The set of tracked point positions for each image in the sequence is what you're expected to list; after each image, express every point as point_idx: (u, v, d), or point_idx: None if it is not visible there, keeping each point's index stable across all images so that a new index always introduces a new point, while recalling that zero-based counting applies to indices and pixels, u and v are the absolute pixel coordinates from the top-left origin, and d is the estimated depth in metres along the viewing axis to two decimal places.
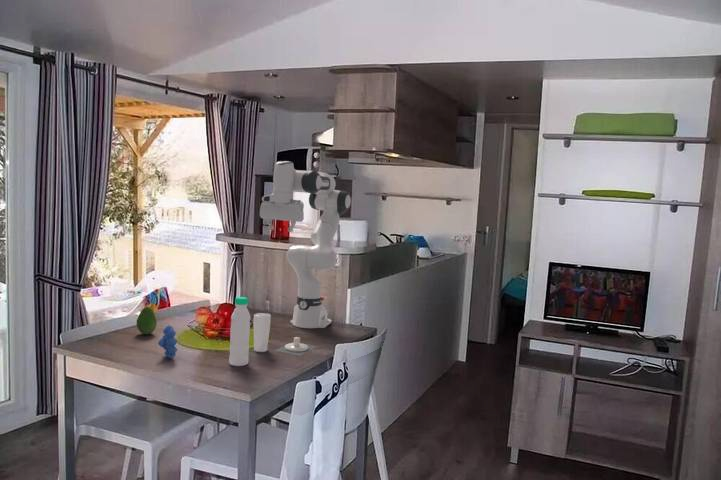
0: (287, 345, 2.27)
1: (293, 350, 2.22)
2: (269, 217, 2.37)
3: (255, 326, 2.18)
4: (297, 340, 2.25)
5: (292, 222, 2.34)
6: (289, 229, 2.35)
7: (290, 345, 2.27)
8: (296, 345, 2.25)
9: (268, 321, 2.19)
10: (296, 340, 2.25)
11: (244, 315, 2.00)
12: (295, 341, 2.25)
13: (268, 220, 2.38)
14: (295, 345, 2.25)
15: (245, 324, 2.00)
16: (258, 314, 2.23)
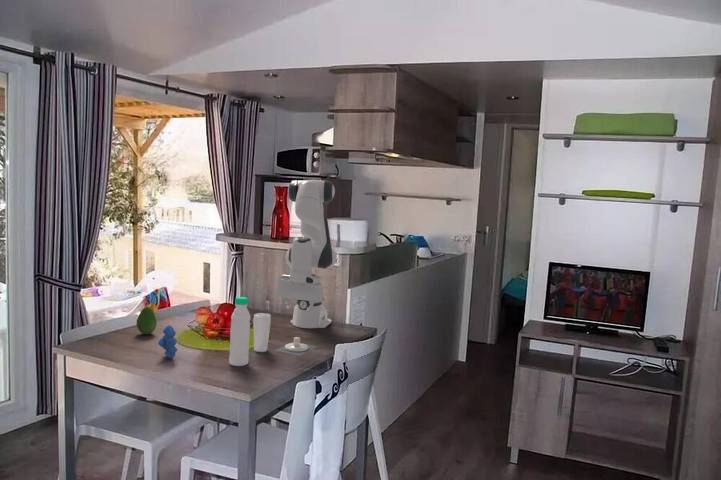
0: (287, 345, 2.27)
1: (293, 350, 2.22)
2: None
3: (255, 326, 2.18)
4: (297, 340, 2.25)
5: None
6: None
7: (290, 345, 2.27)
8: (296, 345, 2.25)
9: (268, 321, 2.19)
10: (296, 340, 2.25)
11: (244, 315, 2.00)
12: (295, 341, 2.25)
13: None
14: (295, 345, 2.25)
15: (245, 324, 2.00)
16: (258, 314, 2.23)
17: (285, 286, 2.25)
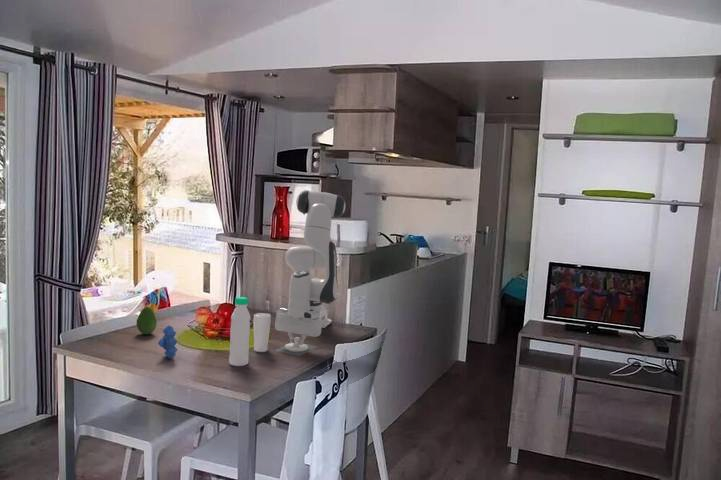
0: (287, 345, 2.27)
1: (293, 350, 2.22)
2: None
3: (255, 326, 2.18)
4: (297, 340, 2.25)
5: None
6: None
7: (290, 345, 2.27)
8: (296, 345, 2.25)
9: (268, 321, 2.19)
10: (296, 340, 2.25)
11: (244, 315, 2.00)
12: (295, 341, 2.25)
13: None
14: (295, 345, 2.25)
15: (245, 324, 2.00)
16: (258, 314, 2.23)
17: (284, 320, 2.27)
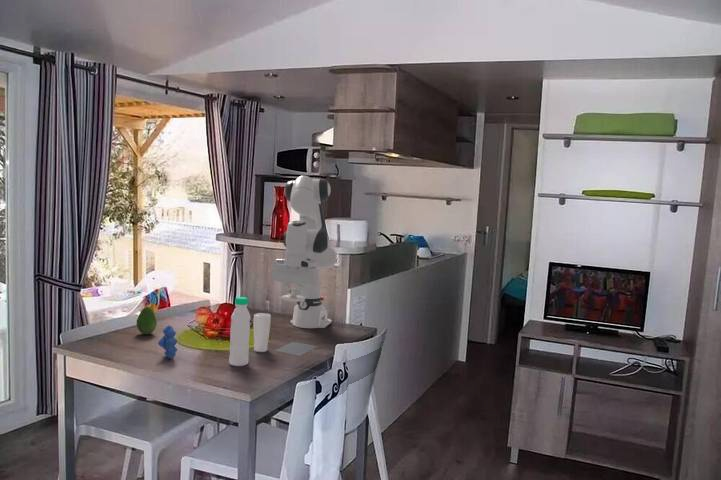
0: (283, 296, 2.24)
1: (290, 300, 2.19)
2: None
3: (255, 326, 2.18)
4: (294, 290, 2.22)
5: None
6: None
7: (286, 296, 2.24)
8: (293, 295, 2.22)
9: (268, 321, 2.19)
10: (293, 290, 2.22)
11: (244, 315, 2.00)
12: (292, 291, 2.22)
13: None
14: (292, 295, 2.22)
15: (245, 324, 2.00)
16: (258, 314, 2.23)
17: (280, 270, 2.24)
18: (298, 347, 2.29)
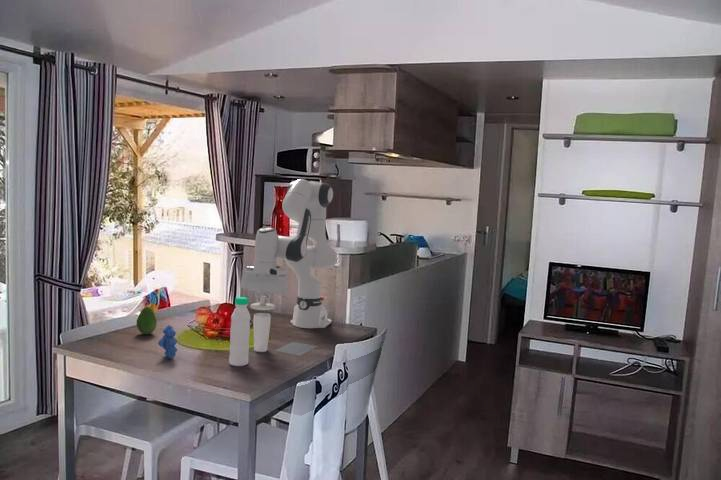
0: (253, 304, 2.20)
1: (259, 308, 2.15)
2: None
3: (255, 326, 2.18)
4: (263, 298, 2.18)
5: None
6: None
7: (256, 304, 2.20)
8: (262, 304, 2.19)
9: (268, 321, 2.19)
10: (262, 298, 2.18)
11: (244, 315, 2.00)
12: (261, 299, 2.19)
13: None
14: (261, 304, 2.19)
15: (245, 324, 2.00)
16: (258, 314, 2.23)
17: (249, 278, 2.20)
18: (298, 347, 2.29)
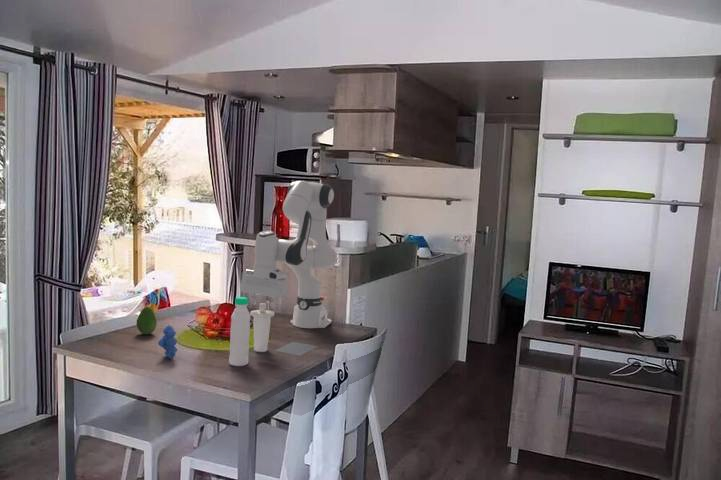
0: (252, 311, 2.21)
1: (258, 316, 2.16)
2: None
3: (255, 326, 2.18)
4: (263, 306, 2.19)
5: None
6: None
7: (255, 311, 2.20)
8: (262, 311, 2.19)
9: (268, 321, 2.19)
10: (262, 306, 2.19)
11: (244, 315, 2.00)
12: (261, 307, 2.19)
13: None
14: (261, 311, 2.19)
15: (245, 324, 2.00)
16: None
17: (249, 281, 2.20)
18: (298, 347, 2.29)
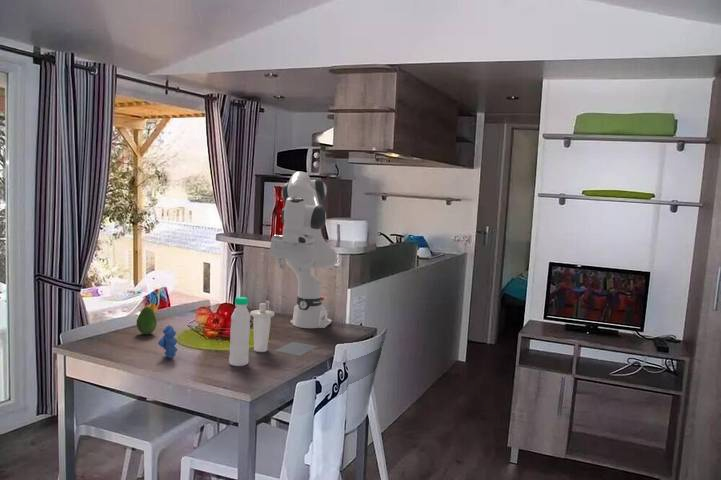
0: (252, 311, 2.21)
1: (258, 316, 2.16)
2: None
3: (255, 326, 2.18)
4: (263, 306, 2.19)
5: None
6: None
7: (255, 312, 2.20)
8: (262, 311, 2.19)
9: (268, 321, 2.19)
10: (262, 306, 2.19)
11: (244, 315, 2.00)
12: (261, 307, 2.19)
13: None
14: (261, 311, 2.19)
15: (245, 324, 2.00)
16: None
17: (278, 246, 2.26)
18: (298, 347, 2.29)
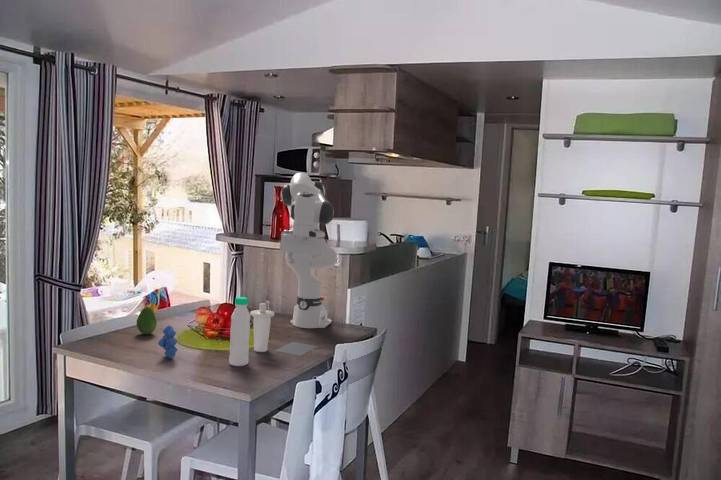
0: (252, 311, 2.21)
1: (258, 316, 2.16)
2: None
3: (255, 326, 2.18)
4: (263, 306, 2.19)
5: None
6: None
7: (255, 312, 2.20)
8: (262, 311, 2.19)
9: (268, 321, 2.19)
10: (262, 306, 2.19)
11: (244, 315, 2.00)
12: (261, 307, 2.19)
13: None
14: (261, 311, 2.19)
15: (245, 324, 2.00)
16: None
17: (288, 241, 2.28)
18: (298, 347, 2.29)
